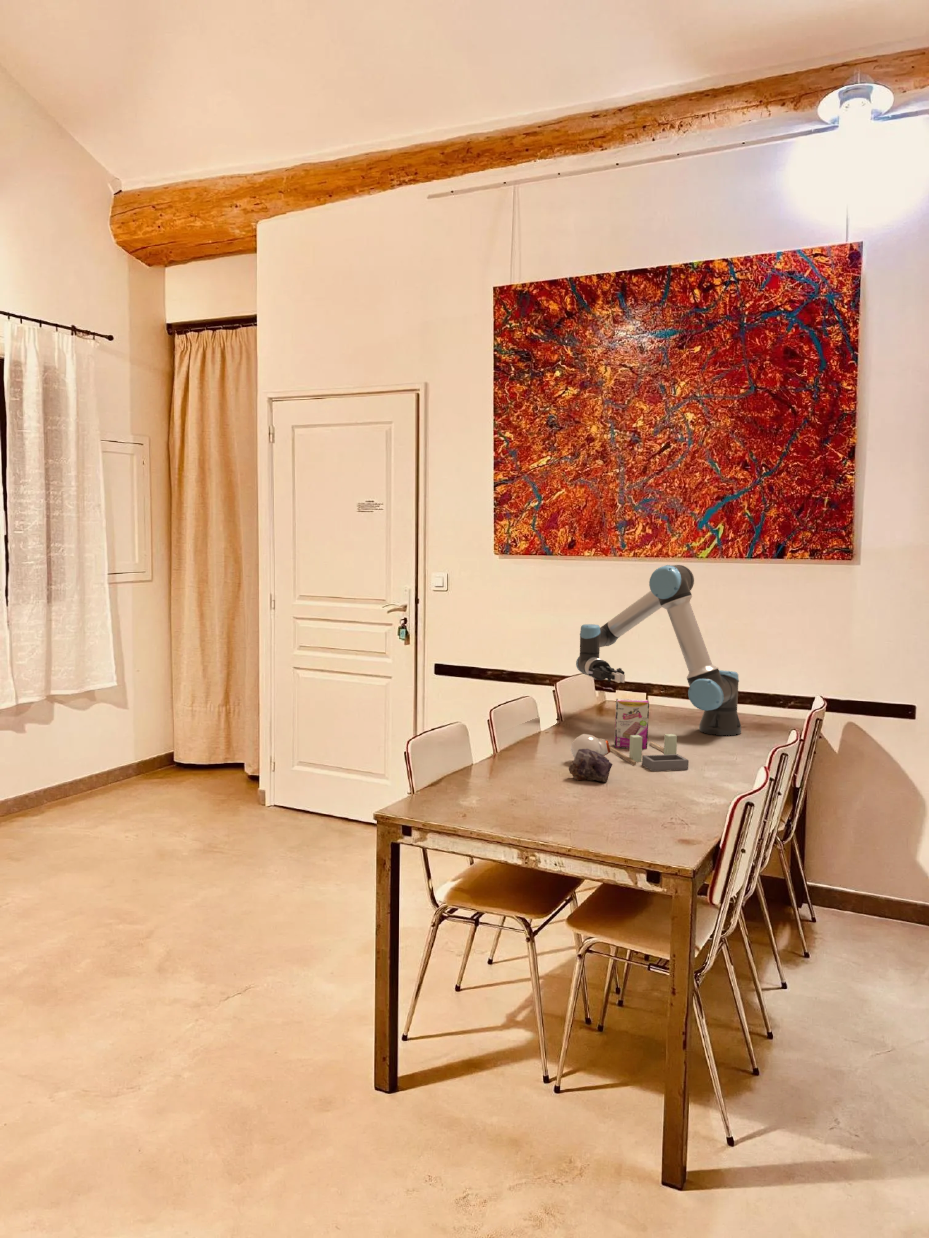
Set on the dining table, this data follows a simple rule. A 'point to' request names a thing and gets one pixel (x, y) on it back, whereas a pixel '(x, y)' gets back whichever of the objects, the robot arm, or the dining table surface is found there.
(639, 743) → the posts
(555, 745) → the dining table surface
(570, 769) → the rock
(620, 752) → the lane rails
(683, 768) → the tray
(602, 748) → the potion bottle
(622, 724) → the candy bar box
